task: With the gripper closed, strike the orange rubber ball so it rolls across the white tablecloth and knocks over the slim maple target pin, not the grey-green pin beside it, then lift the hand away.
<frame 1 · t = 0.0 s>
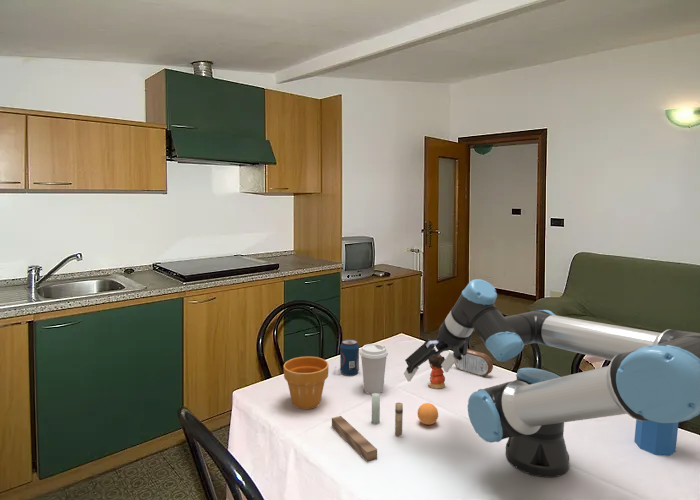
hand: (426, 372, 137), 15 cm above the table, tool tilted 35°, fingers open, 13 cm apart
soda can: (349, 373, 176), on the table
target pin: (398, 434, 133), on the table
figurine: (436, 386, 164), on the table
brown wooden bar: (353, 441, 129), on the table
flower pot: (306, 403, 152), on the table
coffee cup: (373, 390, 161), on the table
water bottle: (654, 446, 127), on the table
tin: (471, 373, 176), on the table
ball: (427, 413, 138), on the table
side pin: (375, 422, 139), on the table
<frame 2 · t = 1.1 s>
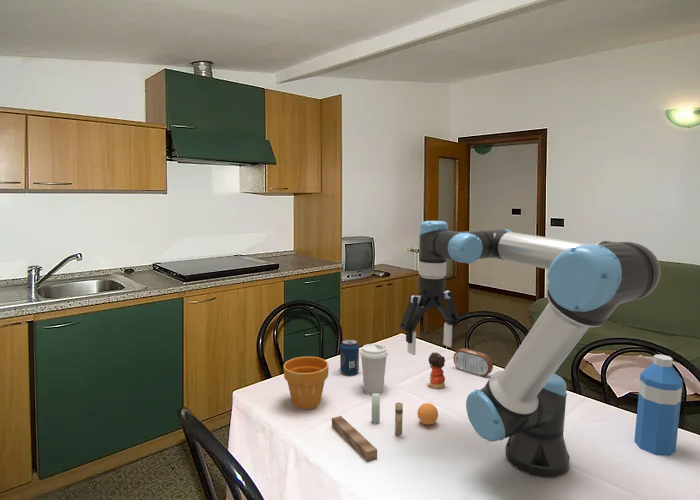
hand: (429, 349, 135), 23 cm above the table, tool pointing down, fingers open, 12 cm apart
nothing on the table moved.
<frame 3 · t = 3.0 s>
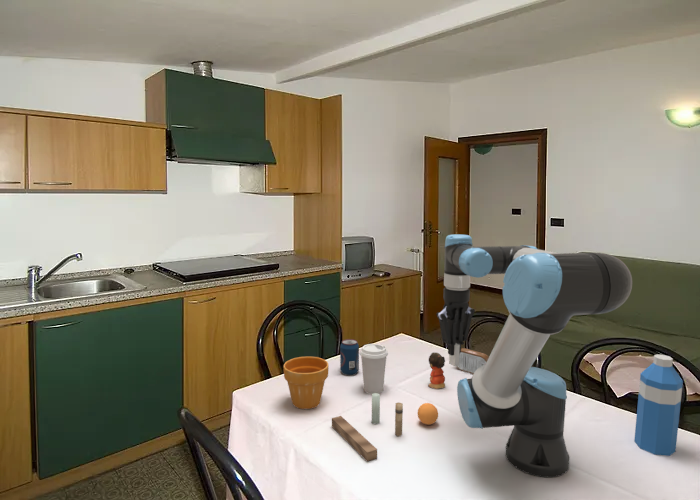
hand: (453, 364, 141), 16 cm above the table, tool pointing down, fingers closed
nothing on the table moved.
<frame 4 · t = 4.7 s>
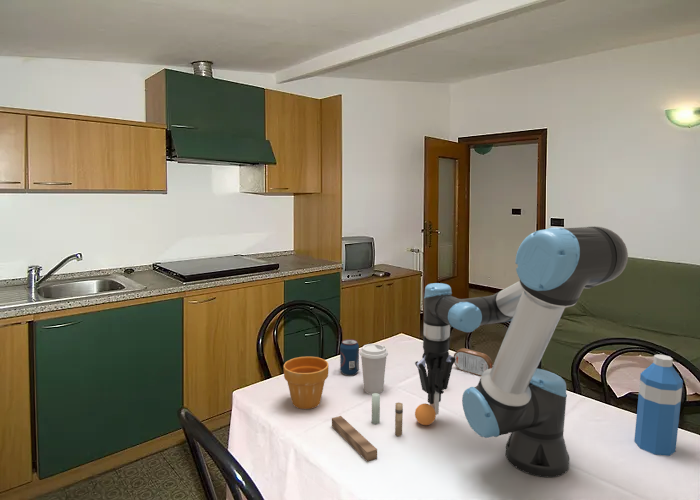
hand: (433, 412, 140), 2 cm above the table, tool pointing down, fingers closed
ball: (425, 414, 138), on the table, touching gripper
everything else where it was.
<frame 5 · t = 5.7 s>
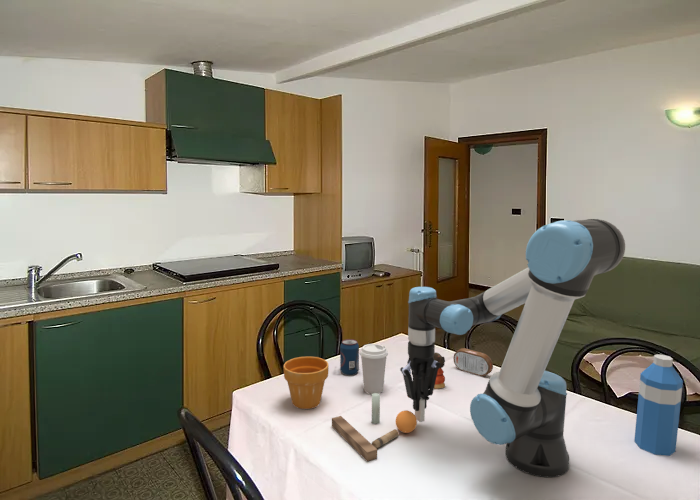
hand: (419, 419, 137), 2 cm above the table, tool pointing down, fingers closed
target pin: (396, 432, 132), point 1 cm above the table, tilted 90°
ball: (406, 421, 134), on the table
everything else where it was.
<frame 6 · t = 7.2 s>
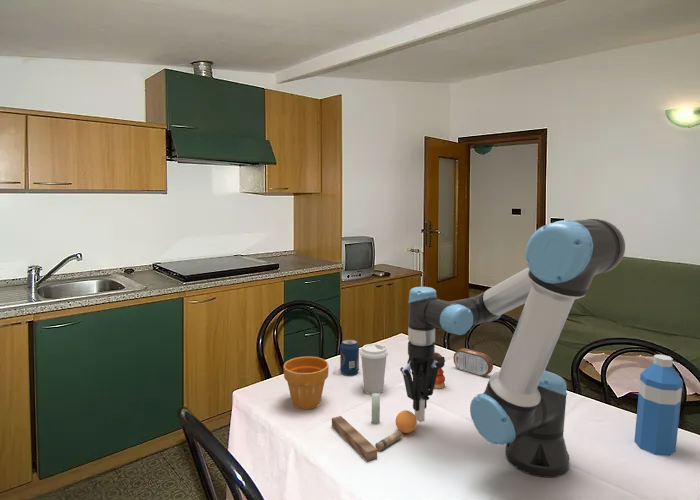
hand: (419, 419, 137), 2 cm above the table, tool pointing down, fingers closed
target pin: (399, 434, 131), point 1 cm above the table, tilted 90°
everything else where it was.
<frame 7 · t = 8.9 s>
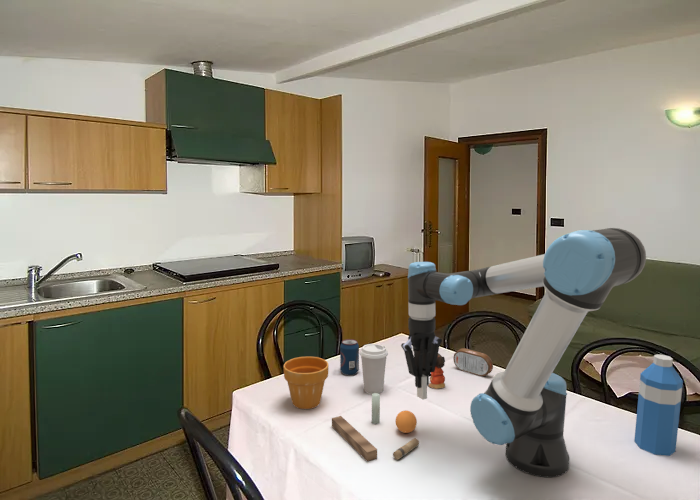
hand: (421, 397, 135), 9 cm above the table, tool pointing down, fingers closed
target pin: (416, 441, 127), point 1 cm above the table, tilted 90°
everything else where it was.
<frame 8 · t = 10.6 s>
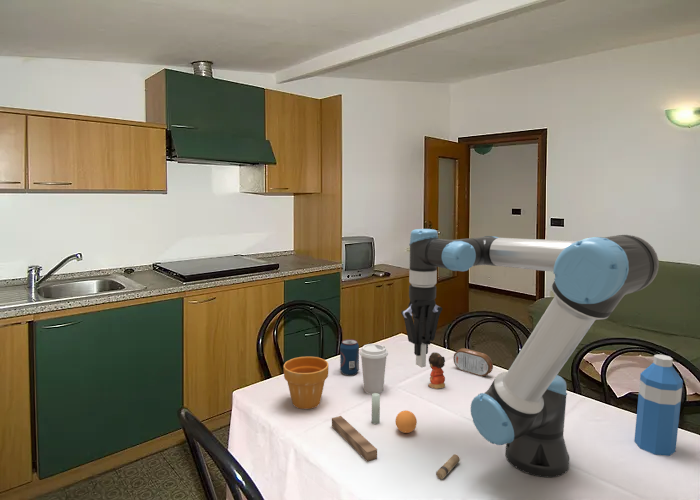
hand: (420, 365, 135), 18 cm above the table, tool pointing down, fingers closed
target pin: (456, 458, 120), point 1 cm above the table, tilted 90°
everything else where it was.
at the end: target pin tilted 90°; target pin never touched the robot; ball moved 8.3 cm from its start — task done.
